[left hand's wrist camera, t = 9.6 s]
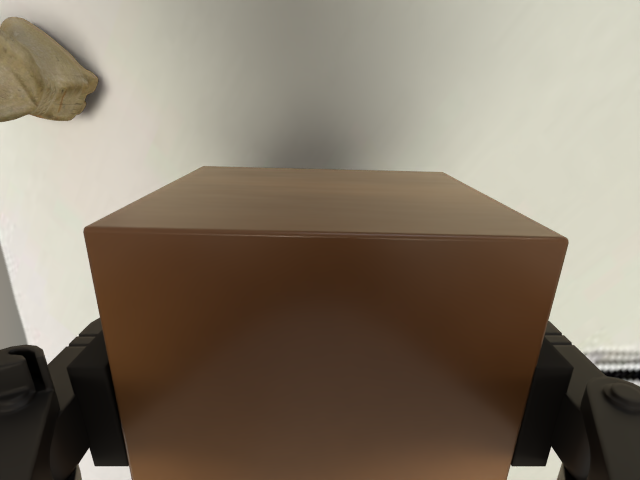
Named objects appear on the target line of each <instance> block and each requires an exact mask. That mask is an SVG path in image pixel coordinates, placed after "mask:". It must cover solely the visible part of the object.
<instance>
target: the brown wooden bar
mask: <svg viewBox="0 0 640 480" xmlns="http://www.w3.org/2000/svg"><path fill="white" fill-rule="evenodd" d="M84 237H85V243H86V248H87V253H88V258H89V263H90V268H91V273H92V278H93V283H94V289H95V294H96V299H97V304H98V309H99V314H100V319H101V324H102V329H103V335H104V340H105V345H106V350H107V355H108V360H109V365H110V370H111V375H112V381H113V386H114V391H115V396H116V401H117V406H118V411H119V416H120V421H121V426H122V432H123V437H124V442H125V447H126V452H127V457H128V462H129V467H130V472H131V478H132V480H507V476H508V472H509V468H510V465H511V461H512V457H513V453H514V449H515V445H516V442H517V438H518V434H519V430H520V426H521V423H522V419H523V415H524V411H525V407H526V403H527V400H528V396H529V392H530V388H531V384H532V380H533V376H534V372H535V368H536V365H537V361H538V358H539V354H540V350H541V346H542V342H543V339H544V335H545V331H546V327H547V323H548V319H549V316H550V312H551V308H552V304H553V300H554V297H555V293H556V289H557V285H558V281H559V277H560V274H561V270H562V266H563V262H564V258H565V255H566V251H567V247H568V239H567V238H566V237H564V236H562V235H560V234H558V233H556V232H555V231H553V230H551V229H549V228H547V227H545V226H543V225H541V224H539V223H538V222H536V221H534V220H532V219H530V218H528V217H526V216H524V215H523V214H521V213H519V212H517V211H515V210H513V209H511V208H509V207H507V206H506V205H504V204H502V203H500V202H498V201H496V200H494V199H492V198H490V197H489V196H487V195H485V194H483V193H481V192H479V191H477V190H475V189H474V188H472V187H470V186H468V185H466V184H464V183H462V182H460V181H458V180H457V179H455V178H453V177H451V176H449V175H447V174H445V173H443V172H417V171H376V170H336V169H295V168H254V167H214V166H203V167H201V168H199V169H197V170H195V171H193V172H191V173H189V174H187V175H185V176H183V177H181V178H179V179H178V180H176V181H174V182H172V183H170V184H168V185H166V186H164V187H162V188H160V189H158V190H156V191H154V192H152V193H150V194H148V195H146V196H145V197H143V198H141V199H139V200H137V201H135V202H133V203H131V204H129V205H127V206H125V207H123V208H121V209H119V210H117V211H115V212H113V213H111V214H110V215H108V216H106V217H104V218H102V219H100V220H98V221H96V222H94V223H92V224H90V225H88V226H86V227H85V228H84Z"/></svg>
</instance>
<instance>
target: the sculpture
mask: <svg viewBox="0 0 640 480" xmlns="http://www.w3.org/2000/svg"><path fill="white" fill-rule="evenodd" d="M97 84H98V78H97V77H96V76H95V75H94V74H93V73H92V72H91V71H89V70H86V69H85V68H83V67H82V66H81V65H80V64H79V63H78V62H77V61H76V60H75V58H74V57H73V56H72V55H71V54H70V53H69V52H68V51H67V50H66V49H64V48H63V47H62V46H61V45H60V44H58V43H57V42H56V41H55V40H54V39H52V38H51V37H50V36H49V35H47V34H46V33H45V32H43V31H42V30H40V29H39V28H38V27H36V26H34V25H33V24H31V23H30V22H28V21H27V20H25V19H22V18H18V17H10V18H7V19H6V20H4V21H3V22H2V24H1V26H0V122H5V121H10V120H14V119H17V118H20V117H22V116H25V115H28V114H30V115H33V116H36V117H40V118H44V119H49V120H55V121H69V120H72V119H73V118H74V117H75V116H76V115H77V114H80V113H81V112H82V111H83V110H84V108H85V107H86V101H85V98H86V96H87V95H88V94H90V93H92V92H94V91H95V89H96V86H97Z"/></svg>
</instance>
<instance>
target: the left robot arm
mask: <svg viewBox="0 0 640 480" xmlns="http://www.w3.org/2000/svg"><path fill="white" fill-rule="evenodd" d="M551 446H552V448H553V449H554V451H555V452H556V454H557V455H558V457H559V458H560V460H561V461H562V465H561V468H560V471H559V475H558V478H557V480H640V387H639V386H637V385H635V384H633V383H631V382H628V381H625V380H622V379H619V378H613V377H607V376H605V375H604V374H603V373H602V372H601V371H600V370H599V369H598V368H597V367H596V366H595V365H594V364H593V363H592V362H591V361H590V360H589V359H588V358H587V357H586V356H585V355H584V354H583V353H582V352H581V351H580V350H579V349H578V348H577V347H575V346H574V345H572V343H571V342H570V341H569V340H568V339H567V338H566V337H565V336H564V335H562V333H561V332H560V331H559V330H558V329H557V328H556V327H555V326H554V325H553V324H552V323H551V322H550V321H548V323H547V327H546V331H545V335H544V339H543V342H542V346H541V350H540V354H539V358H538V361H537V365H536V368H535V372H534V376H533V380H532V384H531V388H530V392H529V396H528V400H527V403H526V407H525V411H524V415H523V419H522V423H521V426H520V430H519V434H518V438H517V442H516V445H515V449H514V453H513V457H512V461H511V465H512V466H546V463H547V459H548V456H549V452H550V449H551ZM89 448H90V451H91V455H92V458H93V462H94V465H95V466H129V462H128V457H127V452H126V447H125V442H124V437H123V432H122V426H121V421H120V416H119V411H118V406H117V401H116V396H115V391H114V386H113V381H112V375H111V370H110V365H109V360H108V355H107V350H106V345H105V340H104V335H103V329H102V324H101V319H100V318H98V319H97V320H95V321H93V322H91V323H90V324H89V325H88V326H87V327H86V328H85V329H84V330H83V331H82V332H81V333H80V334H79V337H76V338H75V339H74V340H73V341H72V342H71V343H70V344H69V347H66V348H65V349H63V350H62V351H61V352H60V353H59V354H58V355H57V356H56V357H55V358H54V359H53V360H52V361H51V362H50V363H49V364H48V365H47V362H46V359H45V355H44V352H43V350H42V349H41V348H39V347H38V346H33V345H20V346H13V347H9V348H5V349H2V350H0V480H82V478H81V472H80V468H79V465H78V464H79V462H80V461H81V459H82V458H83V456H84V455H85V453H86V452H87V450H88V449H89Z"/></svg>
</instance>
